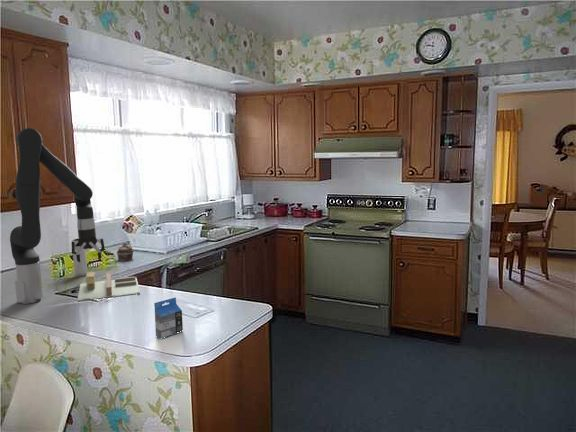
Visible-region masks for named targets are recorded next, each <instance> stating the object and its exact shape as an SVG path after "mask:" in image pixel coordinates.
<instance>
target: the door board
mask: <svg viewBox="0 0 576 432" xmlns="http://www.w3.org/2000/svg"><path fill="white" fill-rule="evenodd" d="M111 273H112V272H106V273H105V275H106V280H102V281H101V280H100V281H95V289H94V287H93V285H90V286H88V289H87V284H86V282H82V283H80V285H79V290H78V295H77V303H79V302H89V301H95V300H94V299H98V300H104V299H103V298H106V299H112V298H121V297H128V296H136V294H138V295H141V291H140V286H139V282H138V278H137V277H136V276H126V277H116V278H114V279H112V274H111Z"/></svg>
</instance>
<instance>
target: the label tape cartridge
mask: <svg viewBox="0 0 576 432" xmlns="http://www.w3.org/2000/svg"><path fill="white" fill-rule="evenodd" d="M154 325H155V327H154V329H155V337H156V336H157V337H156V338H158V337H159V338H158V339H160V338H164V337H166V338H168V337H167V336H169V335H172V334H175V333H177V332H180V331H182V330H183V331H184V325H183V310H182V309H181V307H180V306H179V305H178V304H177V297H173V298H169V299H164V300H161V301H157V302H154ZM175 335H176V334H175ZM172 336H173V335H172ZM169 337H170V336H169ZM164 339H165V338H164Z"/></svg>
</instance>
